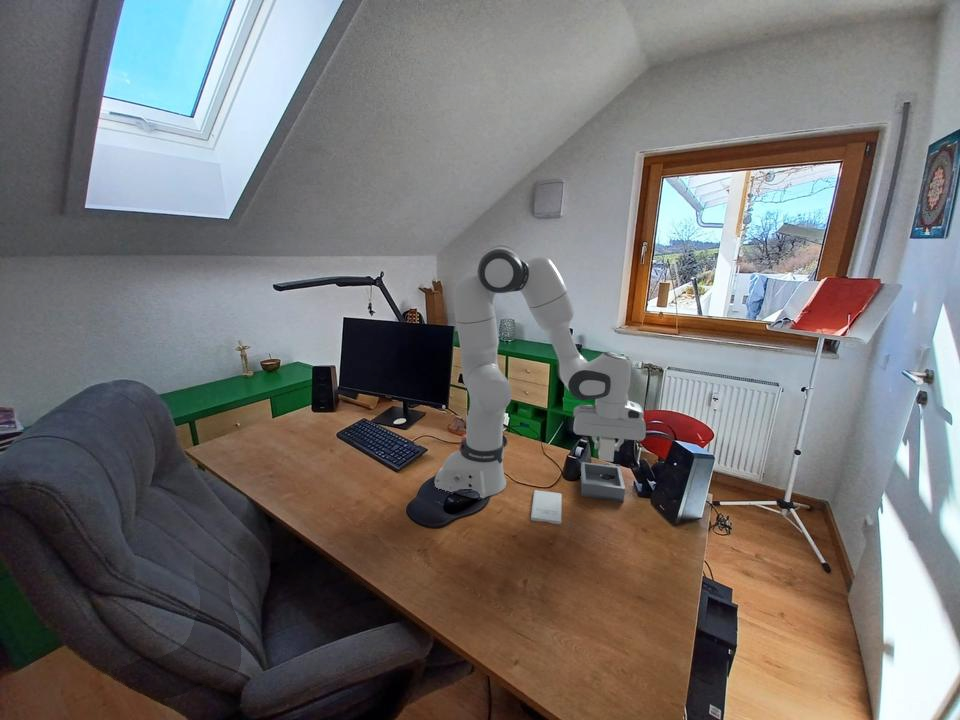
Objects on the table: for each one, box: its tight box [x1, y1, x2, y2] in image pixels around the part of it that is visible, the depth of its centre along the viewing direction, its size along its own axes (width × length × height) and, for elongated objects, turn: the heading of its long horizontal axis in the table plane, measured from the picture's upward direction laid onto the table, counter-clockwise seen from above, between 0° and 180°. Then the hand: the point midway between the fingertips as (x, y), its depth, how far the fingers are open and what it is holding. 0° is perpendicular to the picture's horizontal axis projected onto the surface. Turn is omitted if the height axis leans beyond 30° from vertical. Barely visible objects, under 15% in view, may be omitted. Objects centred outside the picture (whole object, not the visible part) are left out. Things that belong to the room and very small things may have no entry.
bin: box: [579, 461, 626, 503], centre depth 119 cm, size 12×12×4 cm
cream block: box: [597, 437, 616, 463], centre depth 116 cm, size 4×4×7 cm
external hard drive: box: [530, 489, 563, 526], centre depth 110 cm, size 2×8×12 cm
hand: (606, 449), depth 116 cm, fingers closed on cream block, 4 cm apart
